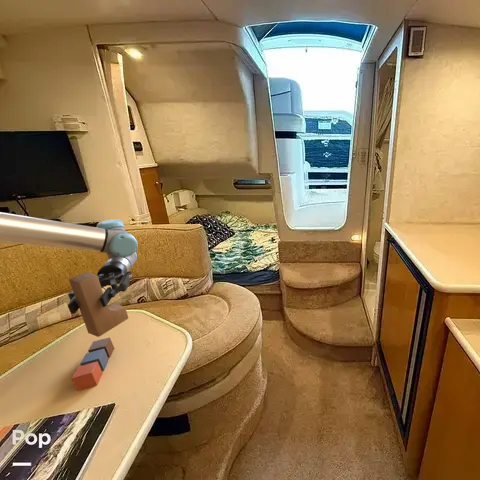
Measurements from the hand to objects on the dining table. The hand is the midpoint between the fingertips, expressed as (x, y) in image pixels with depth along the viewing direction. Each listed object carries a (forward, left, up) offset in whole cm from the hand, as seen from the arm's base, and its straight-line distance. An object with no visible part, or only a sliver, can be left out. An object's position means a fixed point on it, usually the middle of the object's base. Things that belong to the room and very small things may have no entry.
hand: (87, 305), depth 72 cm
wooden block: (-1, +5, -10) cm, 12 cm away
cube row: (-5, 0, -21) cm, 21 cm away
